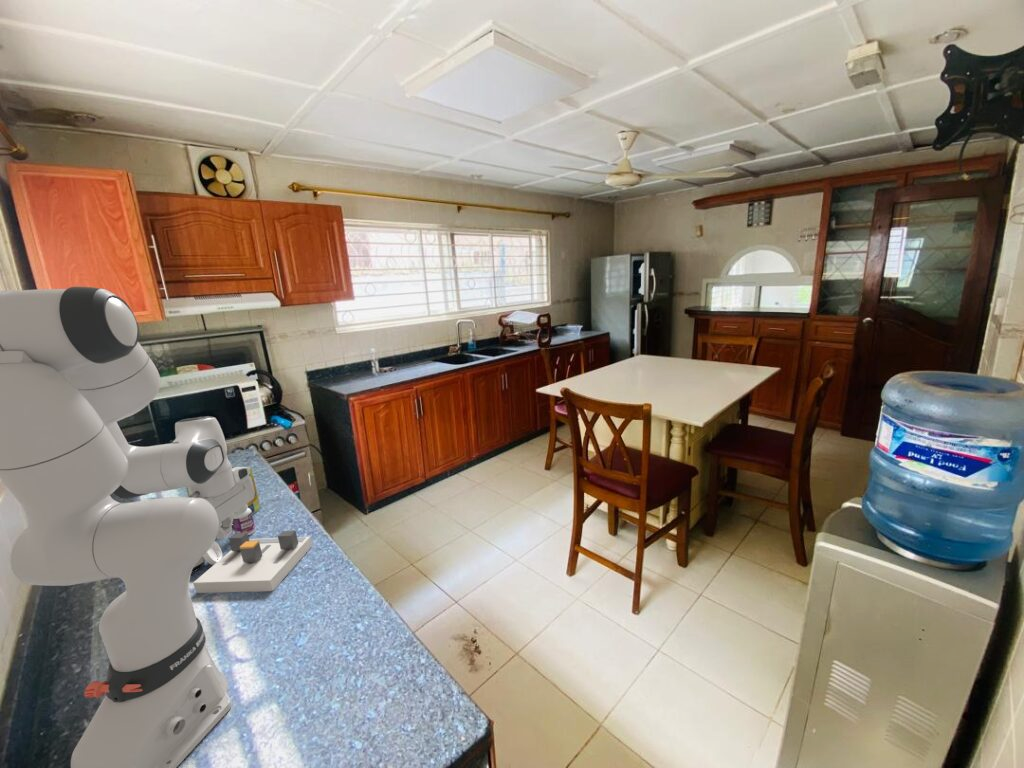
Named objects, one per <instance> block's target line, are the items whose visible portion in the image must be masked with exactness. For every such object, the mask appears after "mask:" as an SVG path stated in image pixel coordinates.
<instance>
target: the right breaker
mask: <svg viewBox="0 0 1024 768" xmlns="http://www.w3.org/2000/svg"><path fill="white" fill-rule="evenodd" d="M297 537H298V536H297V532H296V530H283V531H282V532H281V533H280V534H278V535H277V538H278V540H279V544H280V548H281V549H294V548H295V547H296V546H297V545H298V539H297Z"/></svg>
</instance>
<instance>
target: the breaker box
mask: <svg viewBox="0 0 1024 768" xmlns="http://www.w3.org/2000/svg"><path fill="white" fill-rule="evenodd" d="M297 539H298V545H297V546H296V547H295V548H294V549H281V548H280V544H279V540H278V537H267V538H249V541H259V544H260V548H261V552H262V557H261V558H260V559H259V560H258V561H257V562H243V559H242V555H241V551H232V549H231V550H230V551H228V552H227V553H226V554H225V555H224V556H222V558H221V559H220V560H219V561H218V562H217V563H216V564H214V565H212V566H211V567H210V568H209V569H207V570H206V571H205V572H204V573H203V574H201V575H200V576H199V577H198V578H197V579H196V580H194V581H193V582H192V583H193V587H194V591H195V594H208V593H209V594H213V593H215V594H217V593H218V594H219V593H250V592H253V593H255V592H273V591H275V589H276V588H277V587H278V586H279V585H280V583H281V582H282V581H283V580H284V579H285V578H286V576H287V575H288V574H290V572H291V571H292V570H293V569H294V568H295V567H296V565H297V564H298V563H299V562H300V561H301V559H302V558H303V557H304V556H305V555H306V554H307V553H308V552H309V550H311V548H313V543H312V542H313V541H312V538H311V536H297ZM310 547H311V548H310ZM306 552H307V553H306ZM299 560H300V561H299Z"/></svg>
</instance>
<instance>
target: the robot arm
mask: <svg viewBox="0 0 1024 768" xmlns="http://www.w3.org/2000/svg"><path fill="white" fill-rule="evenodd" d="M139 337H140V329H139V325H138V322H137V318H136V316H135V314H134V312H133V310H132V308H131V306H129V305H128V303H127V302H126V301H125V300H124V299H123V298H121V297H120V296H118V295H116V294H115V293H113V292H111V291H109V290H108V289H104V288H100V287H93V286H71V287H68V288H67V289H66V288H49V289H48V288H44V289H24V290H23V289H22V290H17V289H15V290H14V289H4V290H0V480H1V482H2V483H3V485H5V487H6V488H7V489H8V490H9V492H11V494H12V495H13V496H14V498H15V499H16V500H17V502H18V503H19V504H20V505H21V507H22V509H23V511H24V513H25V517H26V520H27V521H26V522H27V527H26V528H25V529H24V530H23V531H22V532H21V534H19V536H18V537H17V538H16V540H15V542H14V544H13V546H12V548H11V552H10V557H9V561H10V569H11V571H12V573H13V575H14V576H15V578H17V580H19V581H20V582H22V583H24V584H26V585H30V586H54V587H55V586H65V587H67V586H74V585H78V584H79V585H80V584H86V583H91V582H96V581H102V580H109V579H116V578H117V579H118V578H119V579H120V580H121V581H123V583H124V587H125V591H124V592H122V593H120V594H119V595H118V596H117V597H116V598H115V599H114V600H112V601H111V602H110V604H108V605H107V607H106V608H105V610H104V612H103V614H102V616H101V618H100V621H99V623H98V624H99V625H98V631H99V632H98V633H99V634H100V637H101V640H102V643H103V645H104V649H105V652H106V654H107V656H108V659H109V663H108V669H107V676H106V680H104V681H100V680H99V681H97V680H94V681H92V682H90V683H88V684H87V686H86V687H85V689H84V692H83V694H84V695H83V696H84V697H85V698H86V699H87V698H89V699H90V698H101V697H102V696H104V695H105V696H104V697H103V699H102V701H101V703H100V705H99V706H98V708H97V710H96V711H95V713H94V715H93V717H92V718H91V720H90V722H89V724H88V726H87V727H86V729H85V730H84V733H83V734H82V736H81V737H80V739H79V741H78V742H77V745H76V746H75V748H74V750H73V751H72V754H71V757H70V768H177V767H178V766H179V765H180V764H181V763H182V762H184V759H186V758H187V756H188V755H189V754H191V753H192V751H193V750H194V749H195V748H196V747H197V746H198V744H200V742H201V741H202V740H203V739H204V738H205V737H206V736H207V735H208V734H209V733H210V732H211V730H212V729H213V728H214V727H215V726H216V725H217V724H218V722H220V721H221V719H222V718H224V716H226V714H227V712H229V711H230V709H231V708H232V706H233V705H232V704H233V702H232V700H231V698H230V696H229V695H228V689H229V683H228V682H229V681H228V679H227V677H226V676H225V674H223V672H222V671H221V670H220V669H219V668H218V667H217V665H216V664H215V662H214V661H213V659H212V656H211V655H210V653H209V649H208V648H207V646H206V641H207V639H206V635H205V631H204V628H203V625H202V623H201V620H200V619H199V618H198V617H197V615H196V613H195V610H194V606H193V605H194V604H193V601H192V597H191V596H192V595H191V592H190V580H191V574H192V573H193V572H192V569H193V567H194V566H195V564H196V563H197V561H198V560H199V559H200V558H201V557H202V556H203V555H205V554H206V552H207V551H208V550H209V549H210V548H211V546H212V545H213V543H214V541H215V542H216V539H217V540H224V539H225V538H227V537H228V536H229V535H231V534H232V533H233V531H234V529H233V528H232V527H233V525H232V523H233V518H234V516H233V513H235V512H236V511H237V510H239V509H240V508H242V507H243V506H244V505H246V504H247V503H249V502H250V501H252V500H253V499H254V495H255V491H254V486H253V482H252V479H251V477H250V476H248V475H249V474H250V469H249V468H250V467H248V466H235V467H233V466H232V463H231V461H230V460H229V459H228V447H227V441H226V439H225V435H224V432H223V429H222V428H221V427H222V426H221V425H220V423H219V421H218V420H217V418H216V417H214V416H211V415H210V416H209V415H207V416H198V417H191V418H185V419H180V420H178V421H176V422H175V424H174V432H175V439H174V440H173V441H172V442H171V443H164V444H155V445H150V446H138V445H137V446H136V445H131V444H129V442H128V441H127V439H126V437H125V435H124V434H123V431H122V430H121V427H120V426H119V424H118V422H119V421H121V420H124V419H126V418H128V417H131V416H133V415H135V414H137V413H139V412H141V410H143V409H144V408H146V407H147V406H149V404H150V403H151V402H153V400H154V399H155V397H156V396H157V394H158V393H159V391H160V388H161V383H162V382H161V376H160V373H159V371H158V368H157V367H156V365H155V363H154V362H153V360H152V359H151V357H150V356H149V354H148V353H147V352H146V350H145V349H144V348H143V346H142V345H141V344H140V342H139V339H140V338H139ZM186 487H188V490H189V494H190V495H189V496H168V497H167V496H166V497H160V498H151V499H145V500H140V501H131V502H119V501H117V500H116V499H115V500H114V499H113V498H112V496H111V495H112V494H113V495H114V496H117V497H118V498H121V499H123V500H124V499H125V500H126V499H127V500H128V499H133V498H138V497H143V496H146V495H149V494H155V493H160V492H166V491H174V490H178V489H182V488H183V489H184V488H186ZM222 521H223V526H222Z"/></svg>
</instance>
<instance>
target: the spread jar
mask: <svg viewBox="0 0 1024 768" xmlns="http://www.w3.org/2000/svg"><path fill="white" fill-rule="evenodd" d="M221 558H223V552H222V548H221V546H220V545H219V544H218V542H217V541H216V540H215V541H214V543H213V545H212V546H211V548H210V549H209V550H208V551H207V552H206V554H205V555H203V556H202V557H201V558H200V559H199V560H198V561H197V563H196V564H195V566H194V567H193V569H192V571H194V572H196V571H197V570H199V569H200V568H202V567H203V566H204V565H205V563H206V562H207V563H208V564H209V565H212V566H213V565H214V564H216V563H217V562H218V561H219V560H220V559H221ZM217 559H218V560H217ZM202 565H203V566H202ZM198 568H199V569H198ZM196 569H197V570H196ZM195 570H196V571H195Z"/></svg>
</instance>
